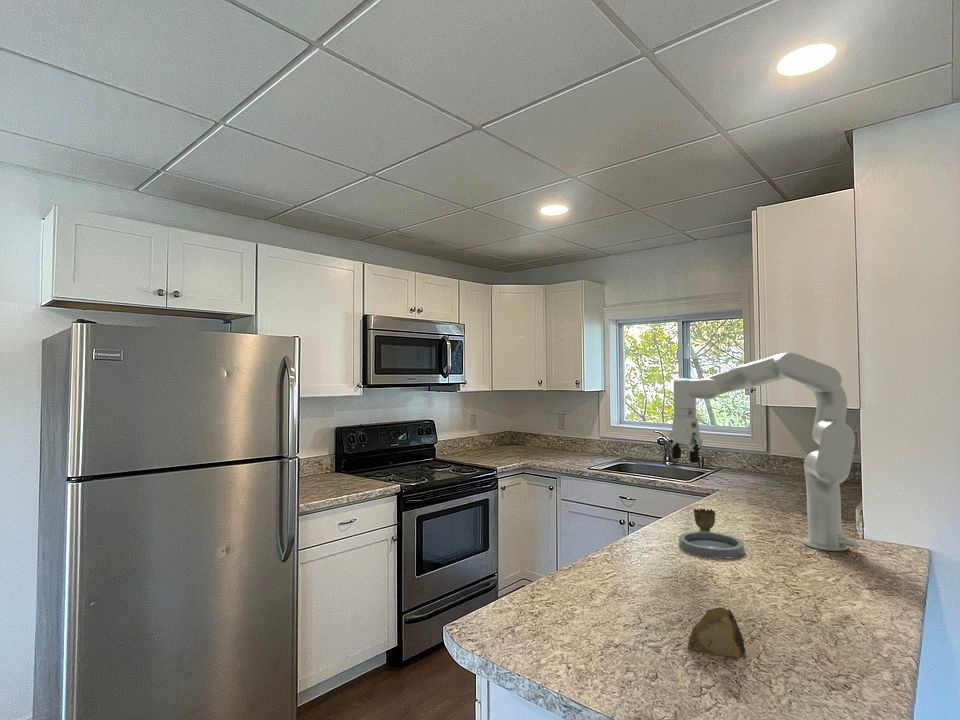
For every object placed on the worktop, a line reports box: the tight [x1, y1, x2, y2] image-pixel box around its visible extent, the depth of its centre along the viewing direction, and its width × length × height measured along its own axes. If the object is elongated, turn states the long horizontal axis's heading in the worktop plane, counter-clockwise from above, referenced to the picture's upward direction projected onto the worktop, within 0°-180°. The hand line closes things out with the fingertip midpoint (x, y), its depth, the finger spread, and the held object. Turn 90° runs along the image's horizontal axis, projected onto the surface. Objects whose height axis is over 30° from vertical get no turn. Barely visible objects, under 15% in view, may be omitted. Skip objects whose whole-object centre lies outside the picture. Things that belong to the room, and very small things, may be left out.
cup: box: [693, 507, 716, 532], centre depth 192 cm, size 8×7×8 cm
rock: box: [687, 607, 747, 659], centre depth 110 cm, size 11×9×10 cm
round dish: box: [678, 531, 746, 559], centre depth 174 cm, size 20×20×3 cm
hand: (685, 460), depth 189 cm, fingers open, 9 cm apart
